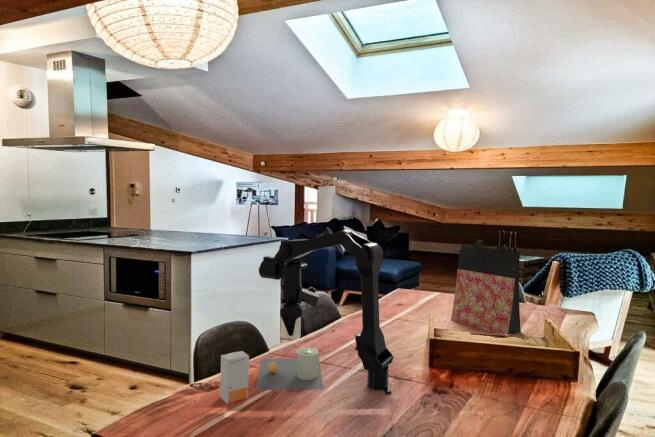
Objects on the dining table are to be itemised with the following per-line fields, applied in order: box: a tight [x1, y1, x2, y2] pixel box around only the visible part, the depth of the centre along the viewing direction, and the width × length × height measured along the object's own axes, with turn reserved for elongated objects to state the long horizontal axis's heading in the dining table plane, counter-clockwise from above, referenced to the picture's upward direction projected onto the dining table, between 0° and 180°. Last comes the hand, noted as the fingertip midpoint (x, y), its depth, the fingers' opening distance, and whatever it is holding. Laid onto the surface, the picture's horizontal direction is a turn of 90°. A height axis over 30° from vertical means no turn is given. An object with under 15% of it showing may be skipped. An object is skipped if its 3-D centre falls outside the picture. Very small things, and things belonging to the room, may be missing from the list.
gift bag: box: [450, 239, 522, 335], centre depth 186 cm, size 29×14×35 cm, turn 39°
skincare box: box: [219, 350, 250, 404], centre depth 114 cm, size 6×4×12 cm
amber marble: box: [267, 362, 278, 373], centre depth 130 cm, size 3×3×3 cm
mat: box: [255, 358, 324, 391], centre depth 131 cm, size 22×18×1 cm
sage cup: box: [296, 347, 320, 380], centre depth 129 cm, size 6×6×7 cm
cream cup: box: [280, 317, 302, 340], centre depth 137 cm, size 6×6×7 cm
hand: (290, 332), depth 137 cm, fingers closed on cream cup, 6 cm apart
